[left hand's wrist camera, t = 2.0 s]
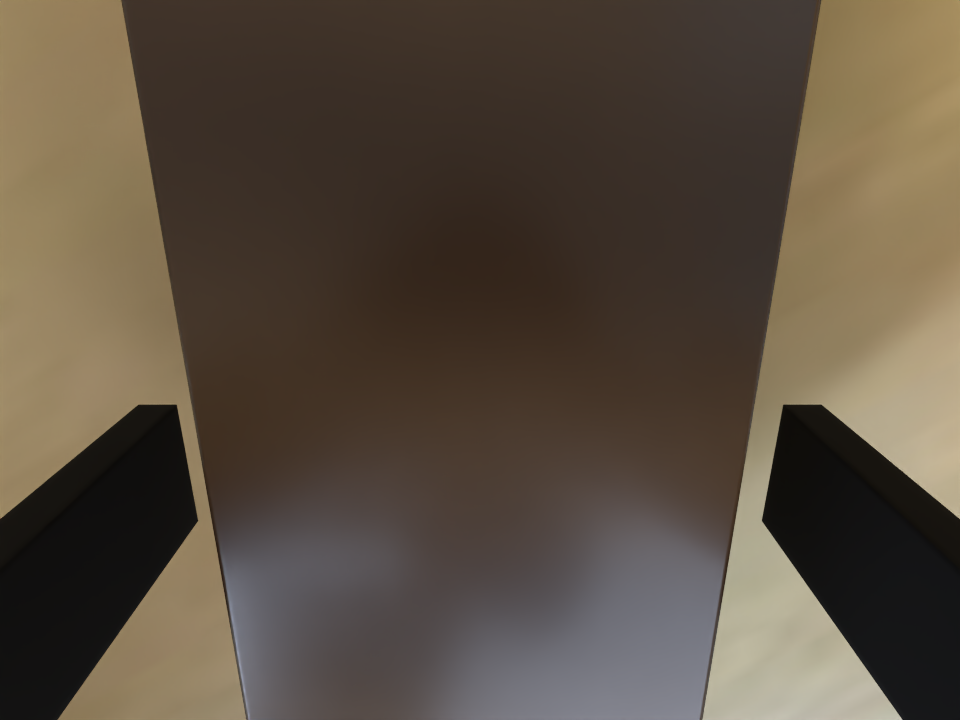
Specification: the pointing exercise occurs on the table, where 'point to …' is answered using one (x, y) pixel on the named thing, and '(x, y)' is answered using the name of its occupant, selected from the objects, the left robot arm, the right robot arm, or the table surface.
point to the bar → (472, 334)
